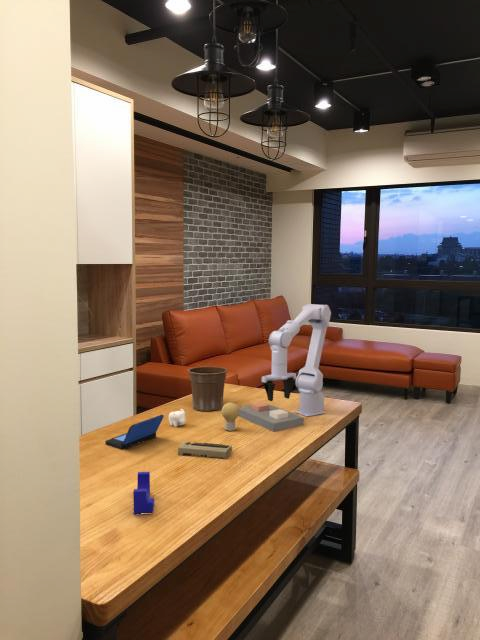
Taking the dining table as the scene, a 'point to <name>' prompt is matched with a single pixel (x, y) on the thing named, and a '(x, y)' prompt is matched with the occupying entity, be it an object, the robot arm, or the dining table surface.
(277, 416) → the white key
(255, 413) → the key console
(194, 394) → the plant pot
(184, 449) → the computer
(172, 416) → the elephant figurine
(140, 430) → the handheld game console
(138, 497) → the blue stepped block
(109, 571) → the dining table surface
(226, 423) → the light bulb
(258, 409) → the terracotta key
